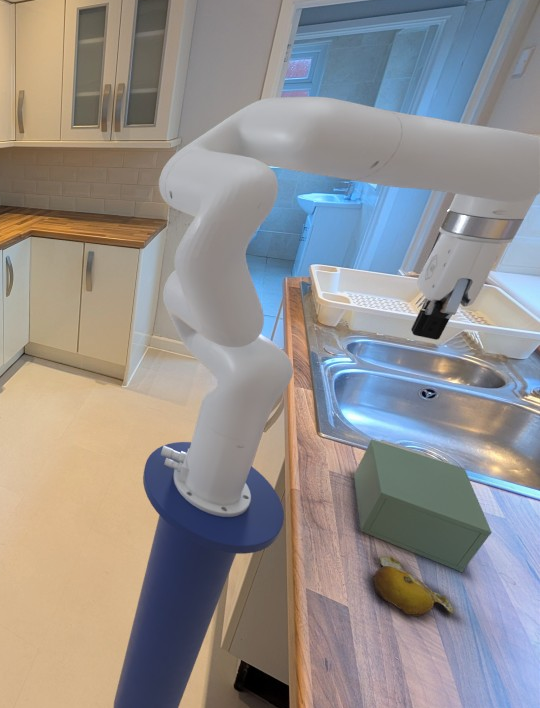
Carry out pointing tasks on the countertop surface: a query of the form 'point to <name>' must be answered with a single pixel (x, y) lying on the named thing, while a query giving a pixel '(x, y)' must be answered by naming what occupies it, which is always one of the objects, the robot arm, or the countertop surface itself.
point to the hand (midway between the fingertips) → (424, 335)
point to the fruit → (405, 589)
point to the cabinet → (419, 505)
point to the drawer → (407, 449)
